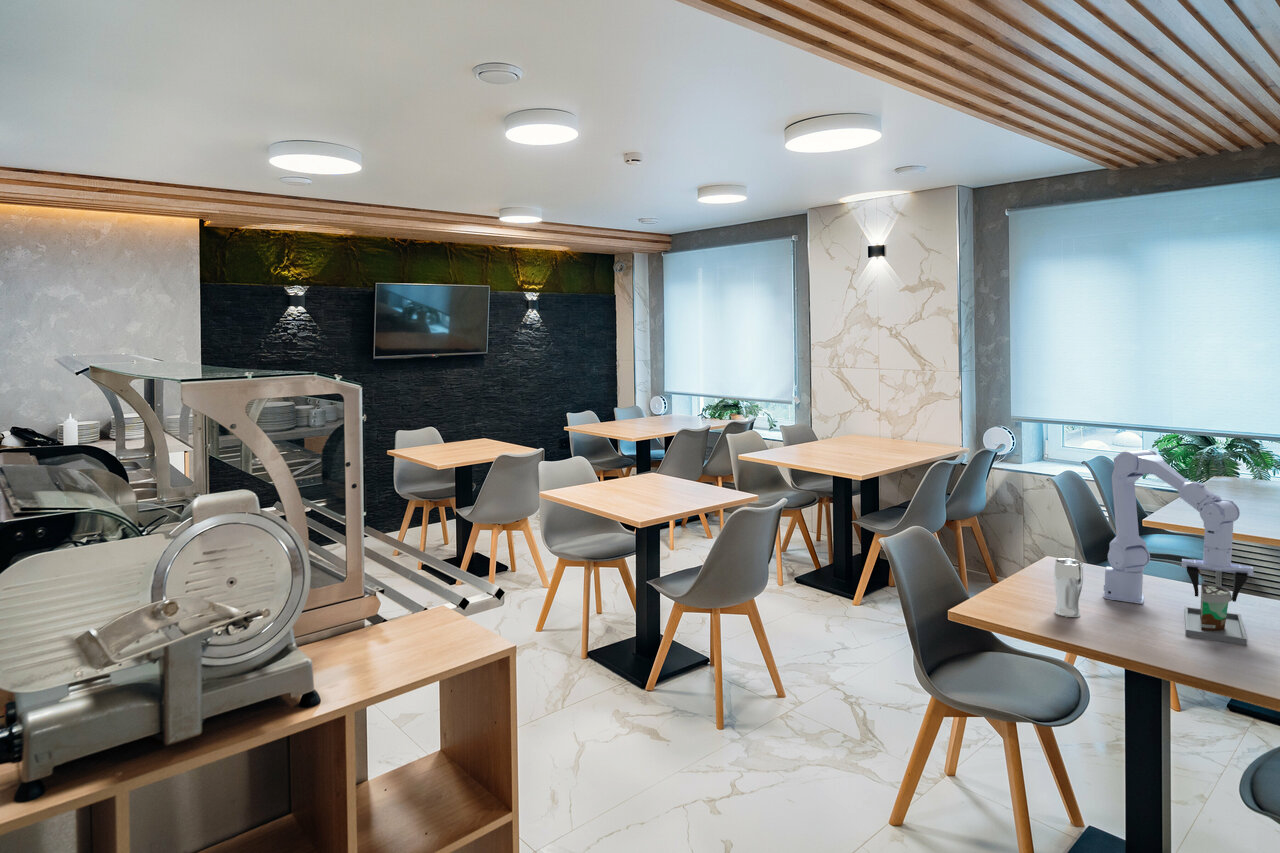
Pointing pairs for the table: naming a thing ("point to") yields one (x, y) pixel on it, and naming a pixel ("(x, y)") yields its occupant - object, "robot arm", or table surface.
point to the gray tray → (1230, 634)
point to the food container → (1214, 606)
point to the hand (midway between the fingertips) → (1215, 597)
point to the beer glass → (1068, 586)
